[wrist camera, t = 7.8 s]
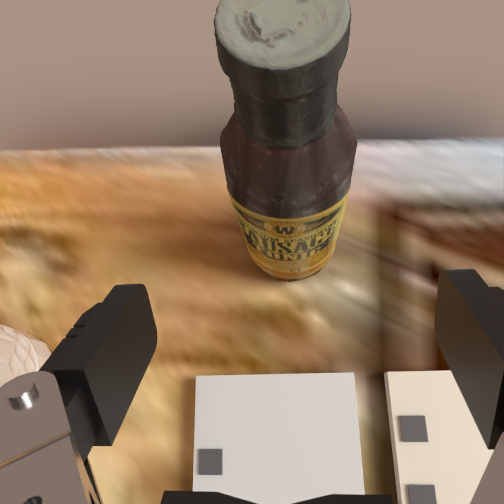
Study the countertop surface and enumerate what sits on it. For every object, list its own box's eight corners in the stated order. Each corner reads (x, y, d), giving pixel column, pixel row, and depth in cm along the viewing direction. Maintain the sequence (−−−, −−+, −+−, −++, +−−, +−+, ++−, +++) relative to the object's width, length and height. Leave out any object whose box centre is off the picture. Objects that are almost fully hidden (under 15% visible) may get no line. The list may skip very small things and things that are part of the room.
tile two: (403, 556, 24) (410, 568, 22) (383, 373, 27) (387, 371, 25) (597, 563, 23) (618, 576, 21) (551, 369, 26) (567, 367, 24)
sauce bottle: (246, 283, 30) (135, 105, 12) (254, 204, 32) (171, -57, 14) (338, 288, 29) (380, 103, 11) (341, 206, 31) (381, -73, 13)
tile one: (197, 549, 25) (189, 559, 24) (201, 376, 29) (195, 375, 27) (367, 555, 24) (371, 566, 22) (351, 373, 27) (354, 372, 26)
